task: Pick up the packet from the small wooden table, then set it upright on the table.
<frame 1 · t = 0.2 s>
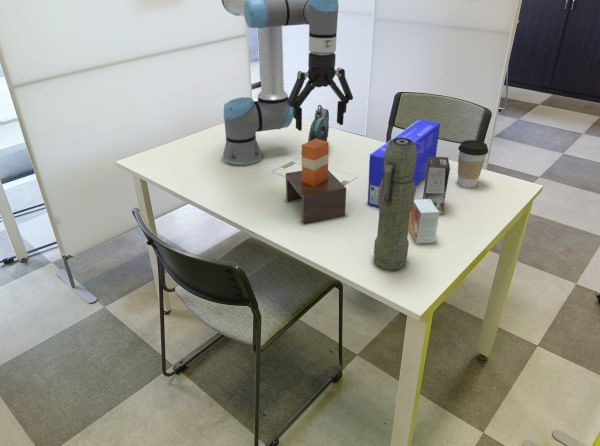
hand: (319, 126, 144), 28 cm above the table, tool pointing down, fingers open, 13 cm apart
small box: (421, 236, 143), on the table
thermos: (389, 262, 132), on the table
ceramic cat: (319, 155, 196), on the table
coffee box: (432, 207, 158), on the table
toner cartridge: (402, 186, 171), on the table
coffee cup: (466, 184, 172), on the table
packet: (314, 180, 153), point 10 cm above the table, touching small wooden table
small wooden table: (314, 207, 158), on the table
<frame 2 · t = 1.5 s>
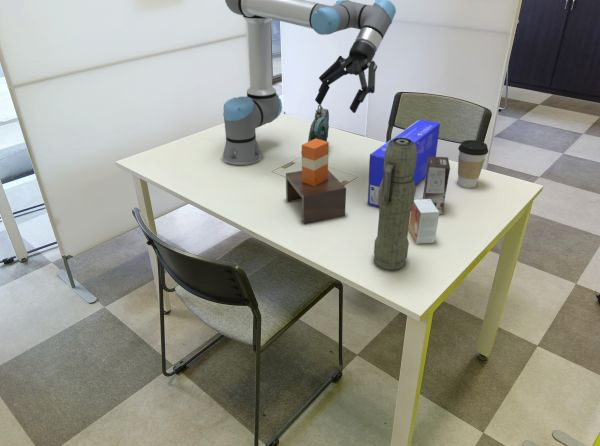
hand: (334, 106, 148), 32 cm above the table, tool tilted 45°, fingers open, 13 cm apart
nothing on the table moved.
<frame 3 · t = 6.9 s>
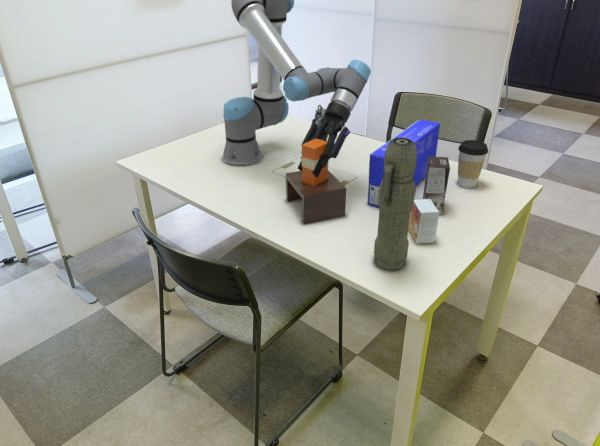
hand: (307, 172, 149), 14 cm above the table, tool tilted 45°, fingers closed on packet, 5 cm apart
packet: (314, 180, 153), point 10 cm above the table, touching gripper, small wooden table
everything else where it was.
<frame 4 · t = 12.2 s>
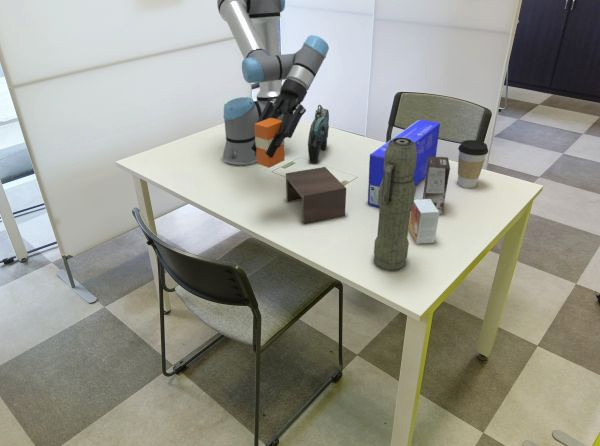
hand: (261, 153, 142), 22 cm above the table, tool tilted 45°, fingers closed on packet, 5 cm apart
packet: (270, 162, 146), point 18 cm above the table, touching gripper
everything else where it was.
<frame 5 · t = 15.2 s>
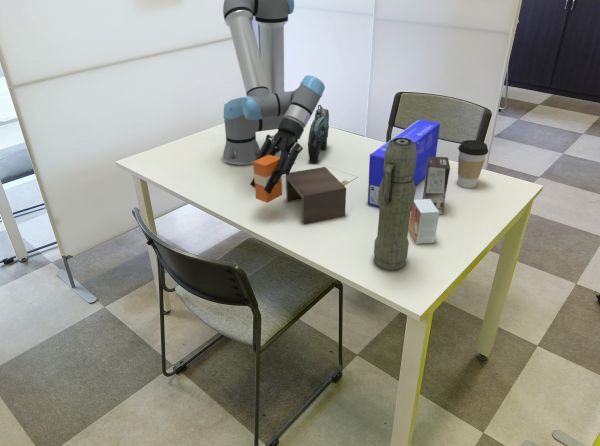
hand: (260, 189, 147), 10 cm above the table, tool tilted 45°, fingers closed on packet, 5 cm apart
packet: (269, 196, 152), point 6 cm above the table, touching gripper
everything else where it was.
when the fingers open (4 cm above the table, at t = 17.3 s): packet stays where it is, on the table.
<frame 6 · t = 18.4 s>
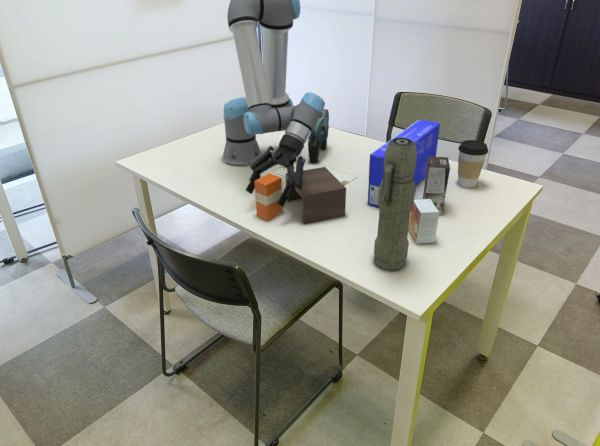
hand: (263, 198, 151), 6 cm above the table, tool tilted 45°, fingers open, 13 cm apart
packet: (269, 214, 155), on the table
everything else where it was.
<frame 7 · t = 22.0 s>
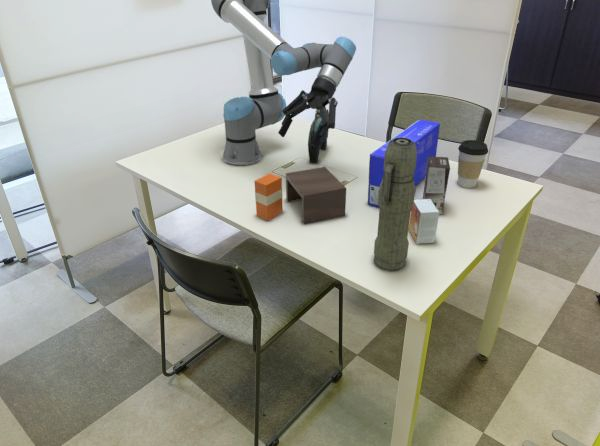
hand: (296, 140, 154), 21 cm above the table, tool tilted 45°, fingers open, 13 cm apart
nothing on the table moved.
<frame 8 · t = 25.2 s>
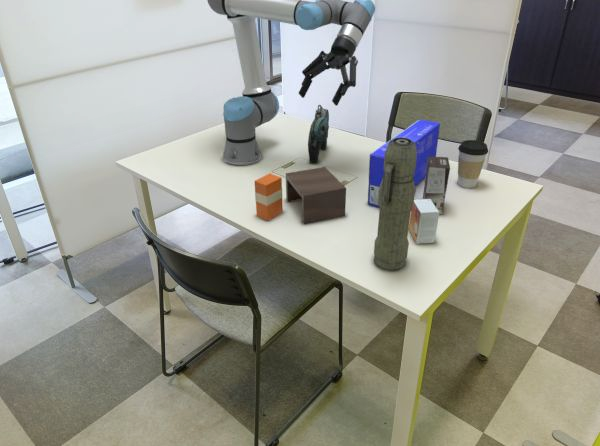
hand: (317, 99, 154), 32 cm above the table, tool tilted 45°, fingers open, 13 cm apart
nothing on the table moved.
at the end: packet inside the target area (0.1 cm from its centre), on the table; packet tilted 0°; the gripper is holding nothing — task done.
